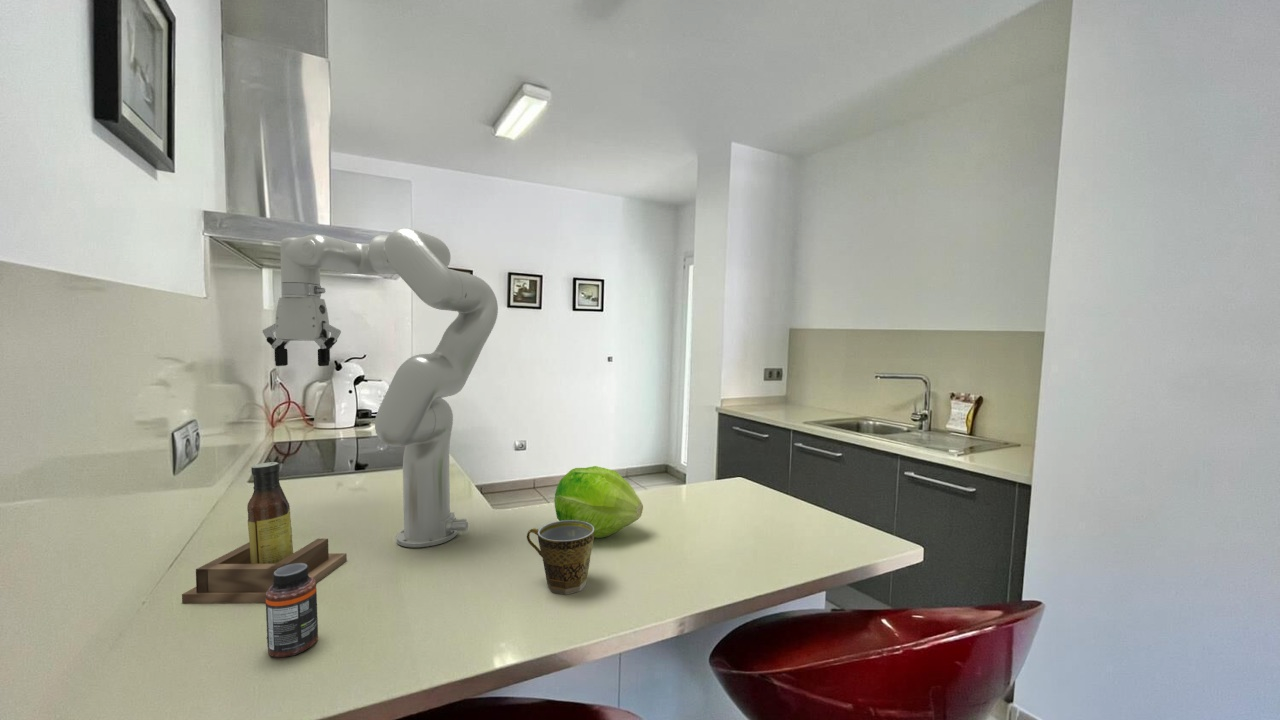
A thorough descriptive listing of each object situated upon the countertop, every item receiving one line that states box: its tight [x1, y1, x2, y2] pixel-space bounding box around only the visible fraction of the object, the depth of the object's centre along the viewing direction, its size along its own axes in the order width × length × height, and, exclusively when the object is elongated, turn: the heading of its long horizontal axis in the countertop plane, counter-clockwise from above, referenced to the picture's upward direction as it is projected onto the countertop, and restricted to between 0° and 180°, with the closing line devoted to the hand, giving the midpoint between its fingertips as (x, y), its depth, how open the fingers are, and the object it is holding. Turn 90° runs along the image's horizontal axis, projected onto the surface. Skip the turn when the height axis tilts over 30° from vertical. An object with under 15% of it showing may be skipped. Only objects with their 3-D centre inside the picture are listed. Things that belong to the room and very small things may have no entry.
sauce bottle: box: [247, 461, 294, 564], centre depth 90 cm, size 7×6×20 cm
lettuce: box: [553, 465, 644, 539], centre depth 111 cm, size 17×20×15 cm
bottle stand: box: [181, 538, 348, 604], centre depth 90 cm, size 18×16×6 cm
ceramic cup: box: [526, 520, 595, 596], centre depth 88 cm, size 13×10×10 cm
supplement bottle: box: [265, 563, 319, 658], centre depth 70 cm, size 6×6×11 cm
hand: (302, 365), depth 116 cm, fingers open, 9 cm apart
